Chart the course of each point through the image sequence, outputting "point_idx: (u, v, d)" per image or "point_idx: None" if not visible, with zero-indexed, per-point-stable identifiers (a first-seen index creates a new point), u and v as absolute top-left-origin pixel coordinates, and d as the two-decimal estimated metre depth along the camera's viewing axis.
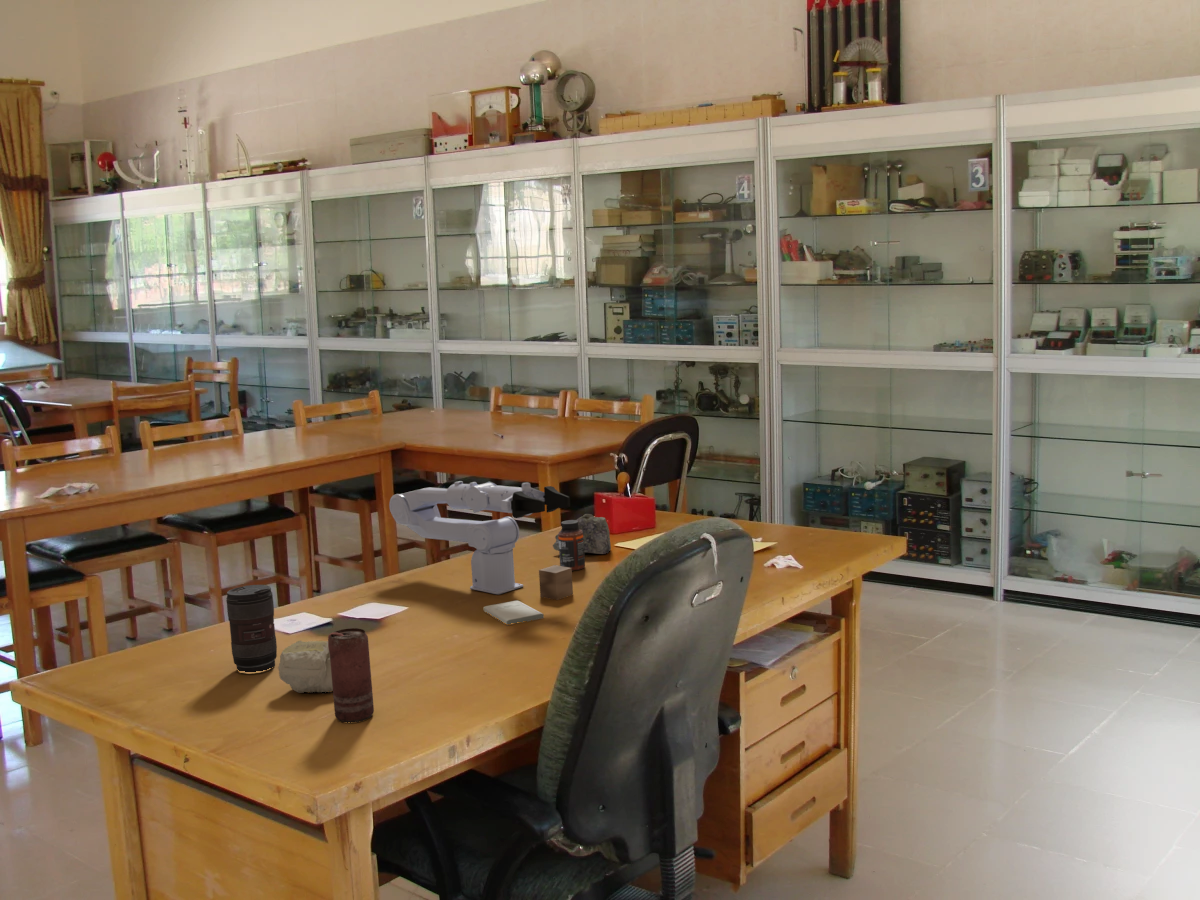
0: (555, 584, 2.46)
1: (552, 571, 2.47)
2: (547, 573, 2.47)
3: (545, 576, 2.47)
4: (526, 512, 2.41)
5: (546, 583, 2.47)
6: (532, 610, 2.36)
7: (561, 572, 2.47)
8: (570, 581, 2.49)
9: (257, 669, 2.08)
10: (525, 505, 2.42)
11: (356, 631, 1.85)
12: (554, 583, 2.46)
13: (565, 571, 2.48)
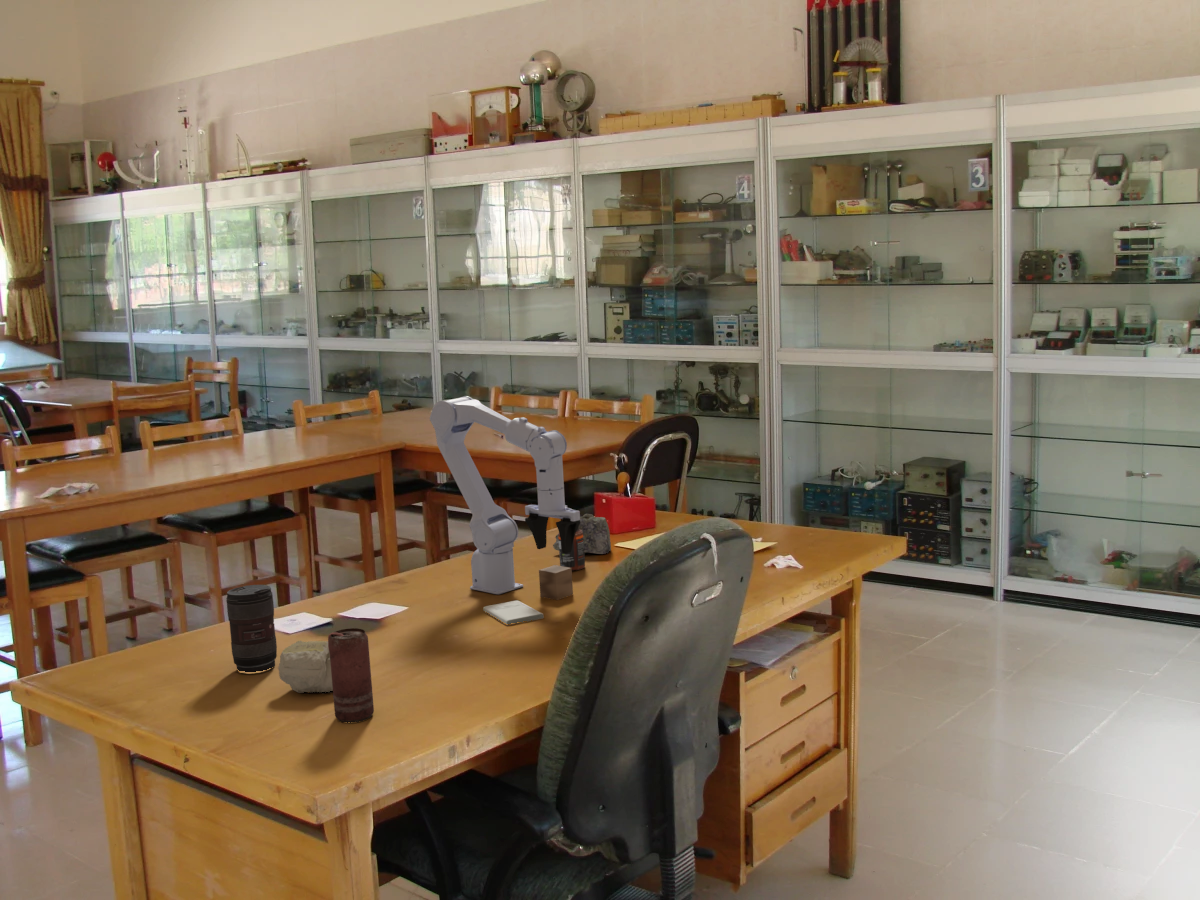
0: (555, 584, 2.46)
1: (552, 571, 2.47)
2: (547, 573, 2.47)
3: (545, 577, 2.47)
4: (565, 536, 2.43)
5: (546, 583, 2.47)
6: (532, 610, 2.36)
7: (561, 572, 2.47)
8: (570, 581, 2.49)
9: (257, 669, 2.08)
10: (567, 530, 2.44)
11: (356, 631, 1.85)
12: (554, 583, 2.46)
13: (565, 571, 2.48)
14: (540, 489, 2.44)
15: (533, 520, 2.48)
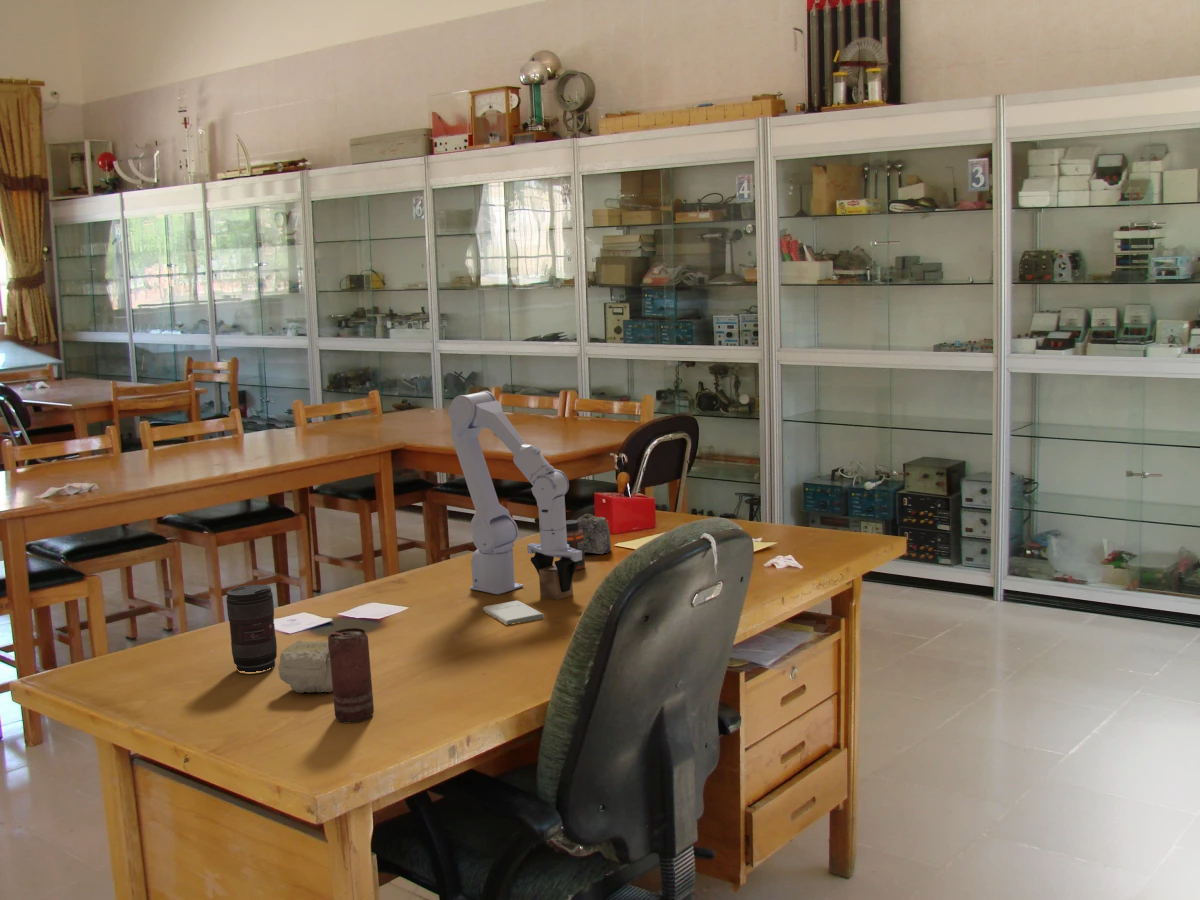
0: (555, 583, 2.46)
1: (552, 571, 2.47)
2: (547, 572, 2.47)
3: (545, 576, 2.47)
4: (564, 575, 2.45)
5: (546, 582, 2.47)
6: (532, 610, 2.36)
7: None
8: None
9: (257, 669, 2.08)
10: (565, 569, 2.46)
11: (356, 631, 1.85)
12: (554, 583, 2.46)
13: None
14: (542, 529, 2.45)
15: (539, 560, 2.49)
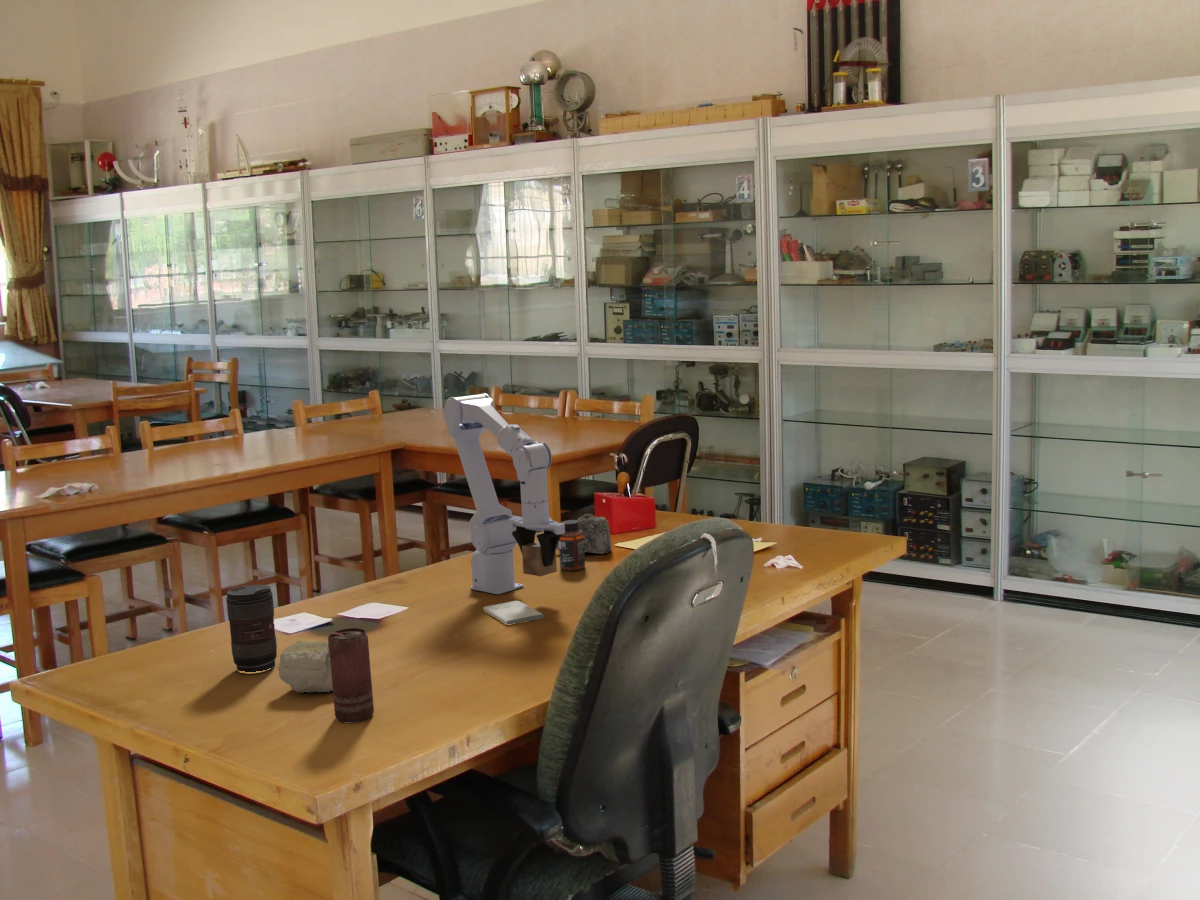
0: (538, 559, 2.40)
1: (535, 546, 2.41)
2: (530, 548, 2.41)
3: (529, 552, 2.42)
4: (546, 549, 2.39)
5: (530, 558, 2.42)
6: (532, 610, 2.36)
7: None
8: None
9: (257, 669, 2.08)
10: (548, 542, 2.41)
11: (356, 631, 1.85)
12: (537, 559, 2.40)
13: None
14: (522, 501, 2.41)
15: (520, 534, 2.43)
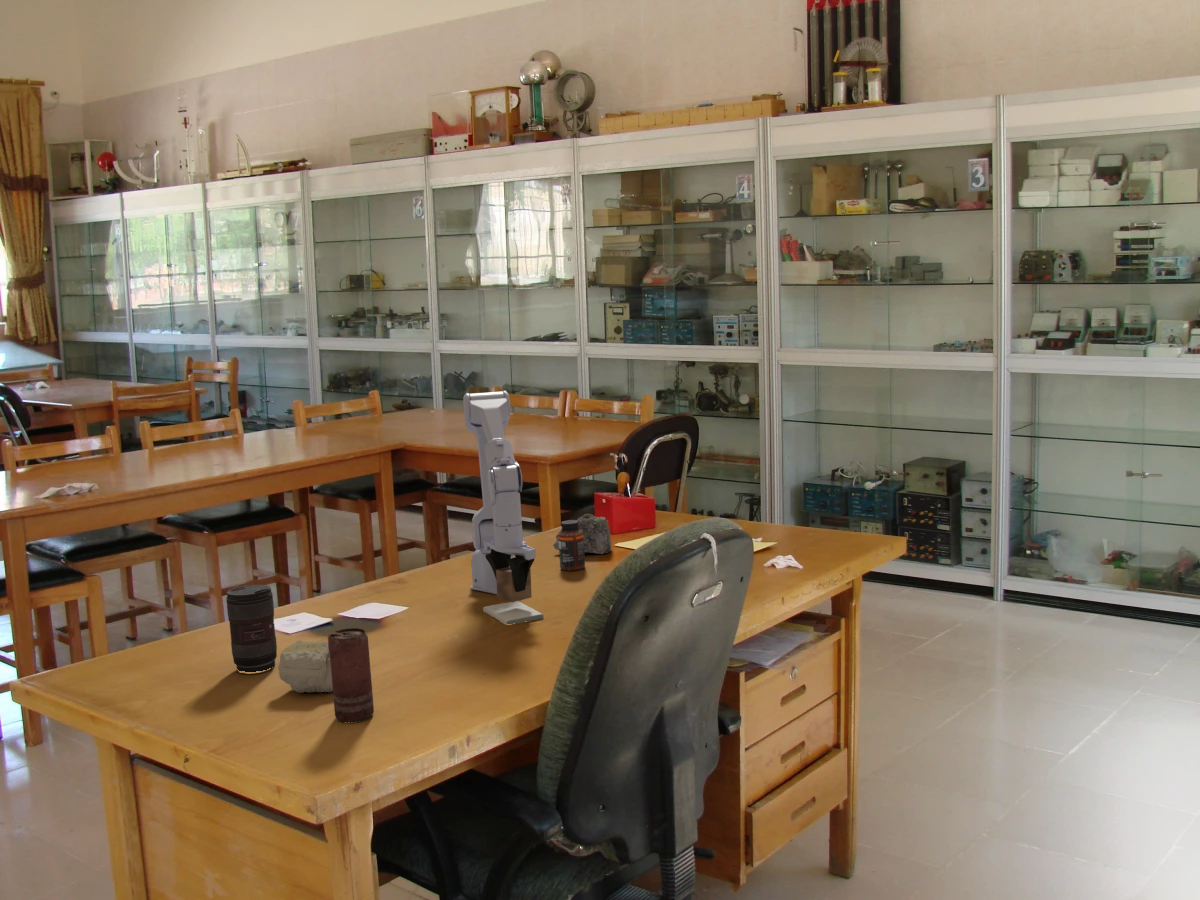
0: (510, 585, 2.33)
1: (509, 571, 2.34)
2: (504, 573, 2.35)
3: (502, 577, 2.35)
4: (517, 574, 2.32)
5: (503, 583, 2.35)
6: (532, 611, 2.36)
7: None
8: (528, 583, 2.36)
9: (257, 669, 2.08)
10: (520, 567, 2.33)
11: (356, 631, 1.85)
12: (510, 584, 2.34)
13: None
14: None
15: (493, 557, 2.36)
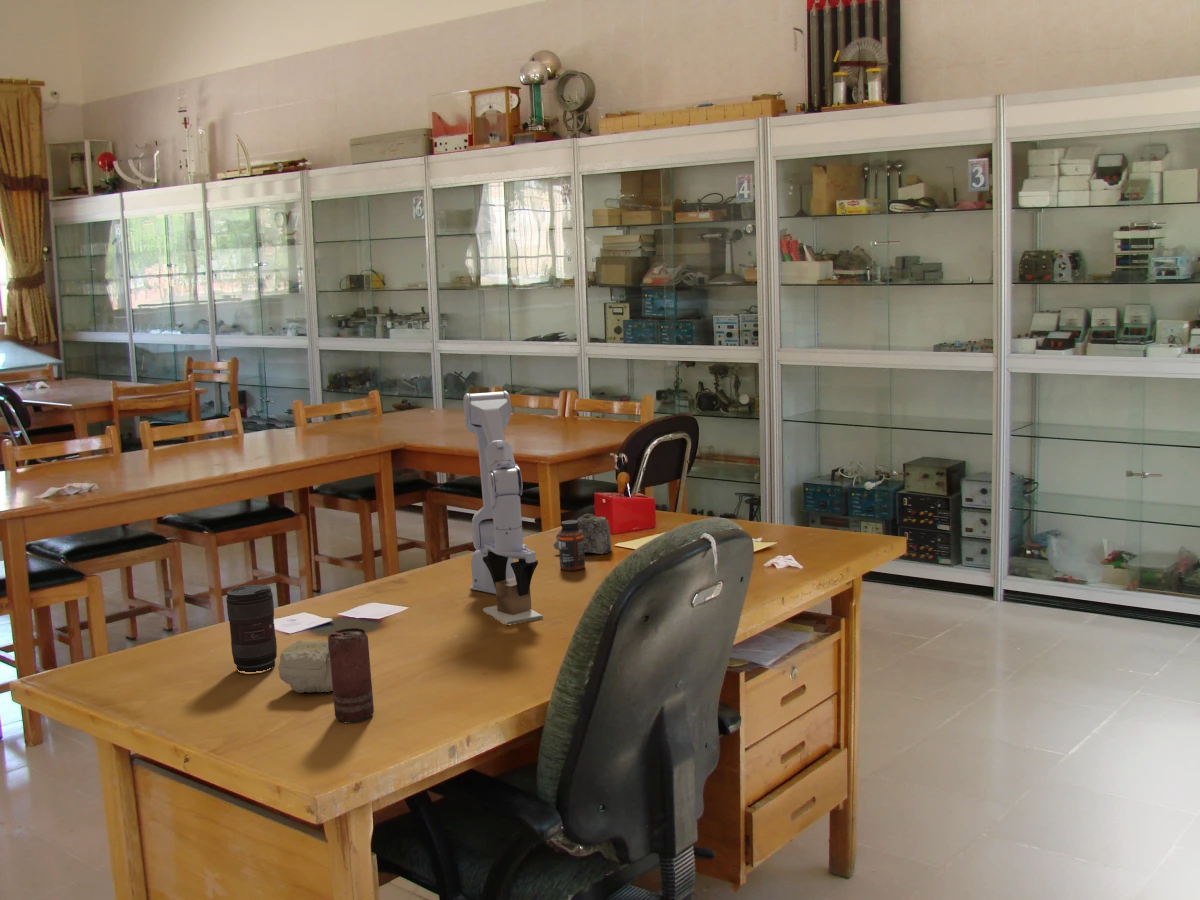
0: (510, 597, 2.34)
1: (508, 584, 2.35)
2: (503, 585, 2.35)
3: (501, 590, 2.35)
4: (520, 578, 2.31)
5: (502, 596, 2.35)
6: (532, 612, 2.36)
7: None
8: (527, 595, 2.36)
9: (257, 669, 2.08)
10: (523, 571, 2.33)
11: (356, 631, 1.85)
12: (509, 597, 2.34)
13: None
14: None
15: (490, 559, 2.37)
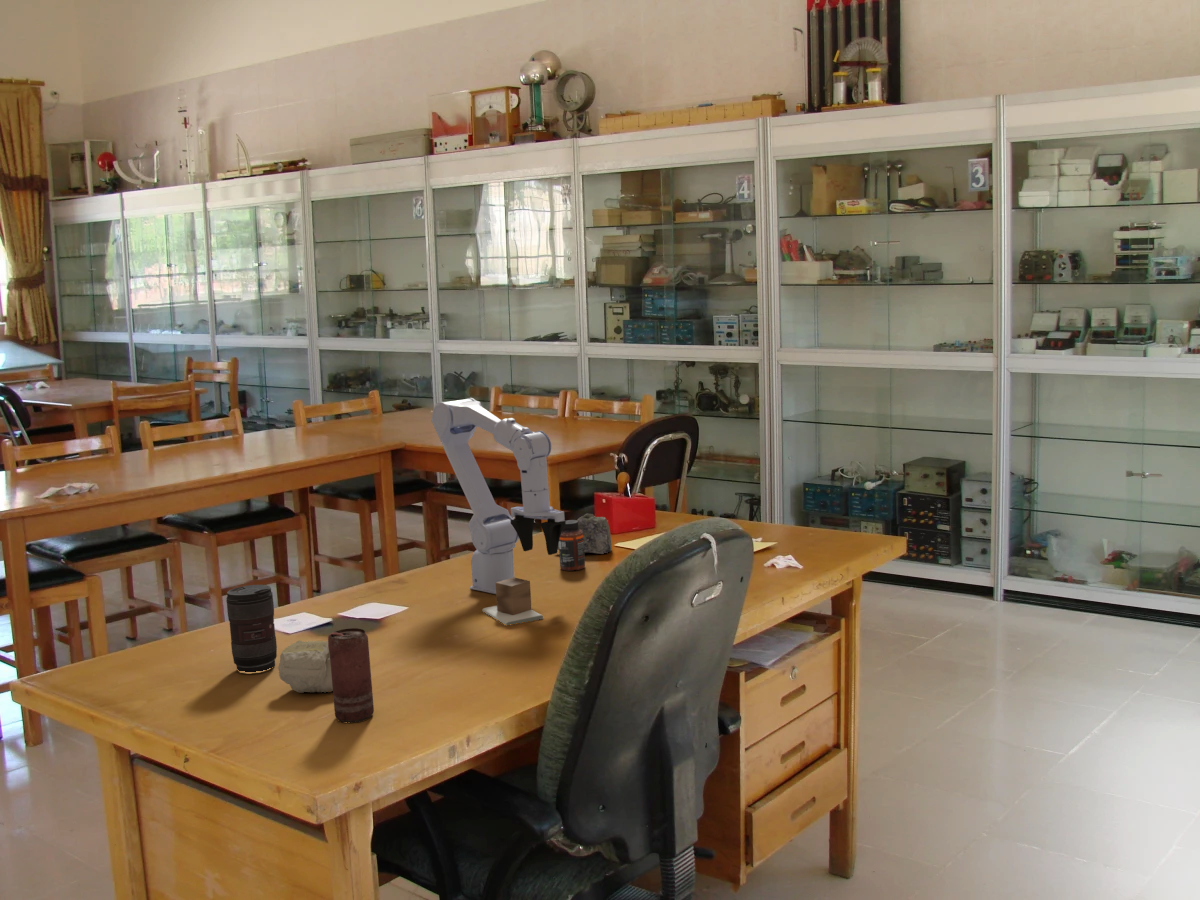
0: (511, 597, 2.33)
1: (508, 584, 2.34)
2: (503, 586, 2.35)
3: (502, 590, 2.35)
4: (550, 537, 2.41)
5: (503, 596, 2.35)
6: (531, 612, 2.35)
7: (518, 585, 2.34)
8: (528, 595, 2.36)
9: (257, 669, 2.08)
10: (552, 531, 2.42)
11: (356, 631, 1.85)
12: (510, 597, 2.34)
13: (522, 584, 2.35)
14: (523, 490, 2.43)
15: (518, 522, 2.46)
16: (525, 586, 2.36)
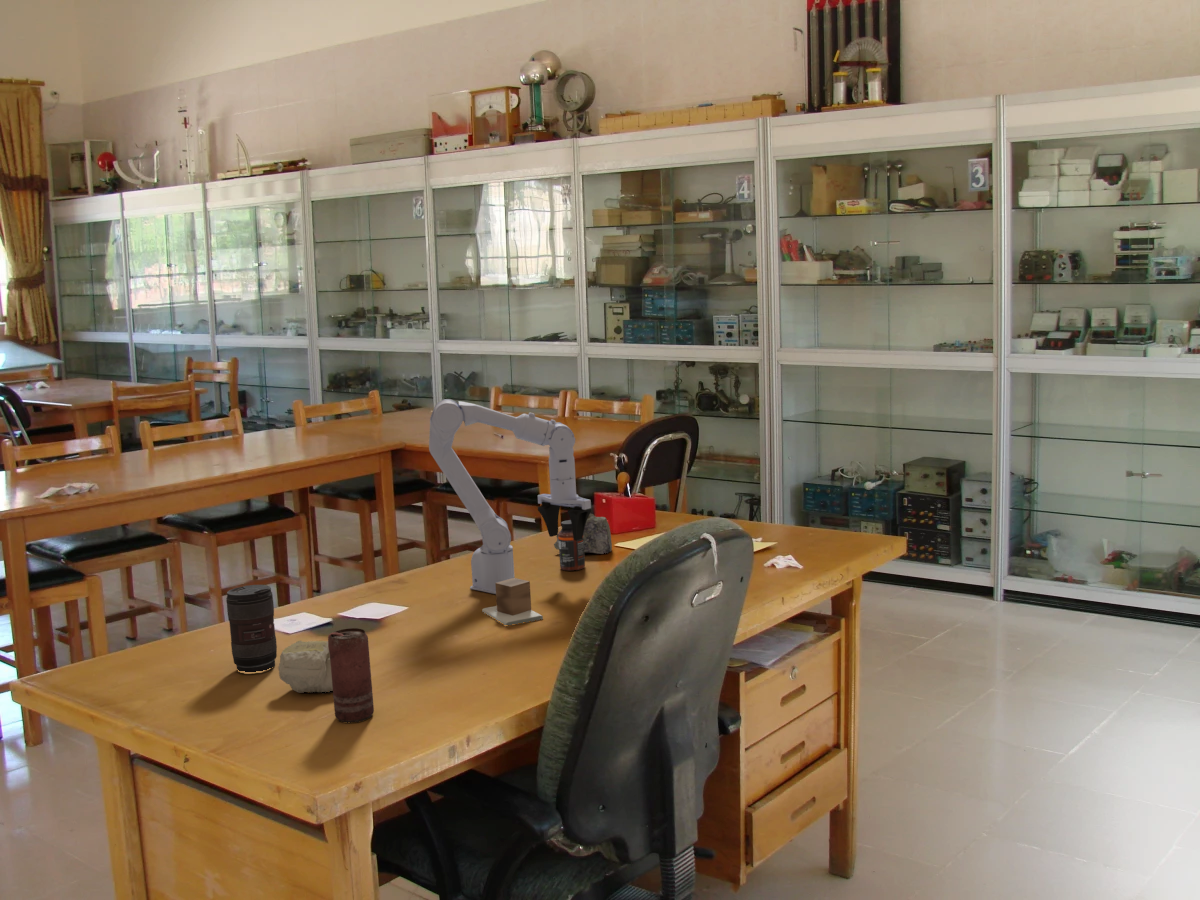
0: (510, 598, 2.33)
1: (508, 584, 2.34)
2: (503, 586, 2.35)
3: (502, 590, 2.35)
4: (577, 523, 2.53)
5: (502, 597, 2.35)
6: (531, 612, 2.35)
7: (517, 586, 2.34)
8: (527, 596, 2.36)
9: (257, 669, 2.08)
10: (578, 518, 2.54)
11: (356, 631, 1.85)
12: (510, 597, 2.33)
13: (522, 585, 2.35)
14: (560, 479, 2.53)
15: (545, 508, 2.58)
16: (525, 586, 2.35)
